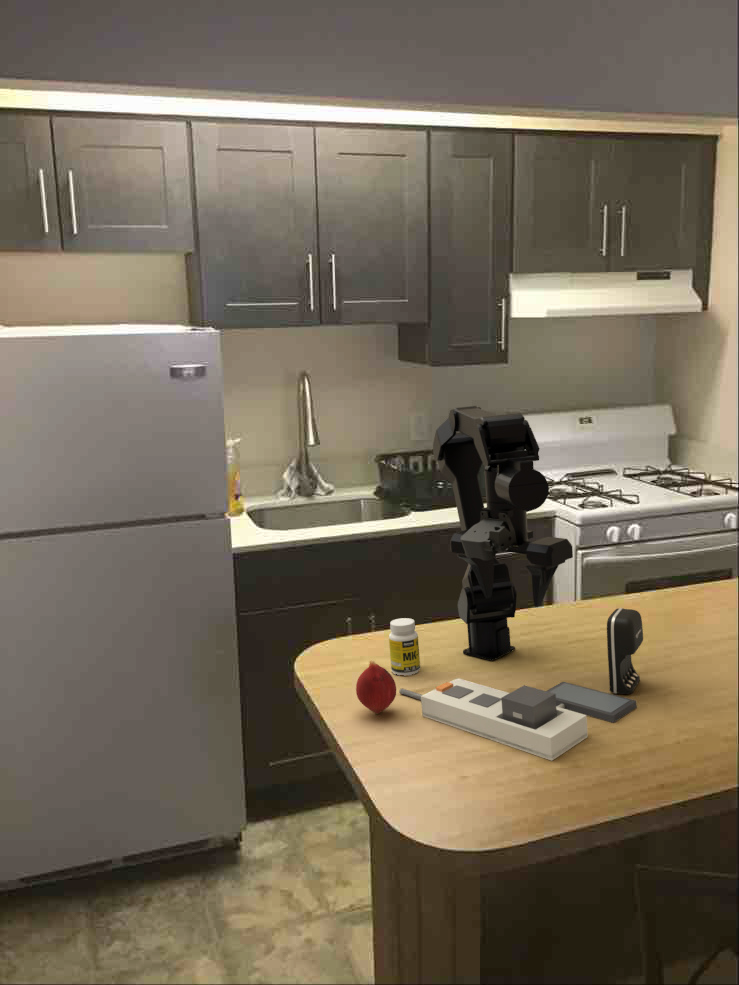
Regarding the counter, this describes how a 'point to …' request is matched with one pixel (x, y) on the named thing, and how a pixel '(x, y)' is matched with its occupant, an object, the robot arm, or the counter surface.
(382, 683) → the onion
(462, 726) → the power strip
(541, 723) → the charger cube
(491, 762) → the counter surface
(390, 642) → the supplement bottle
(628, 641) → the battery charger
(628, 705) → the phone
